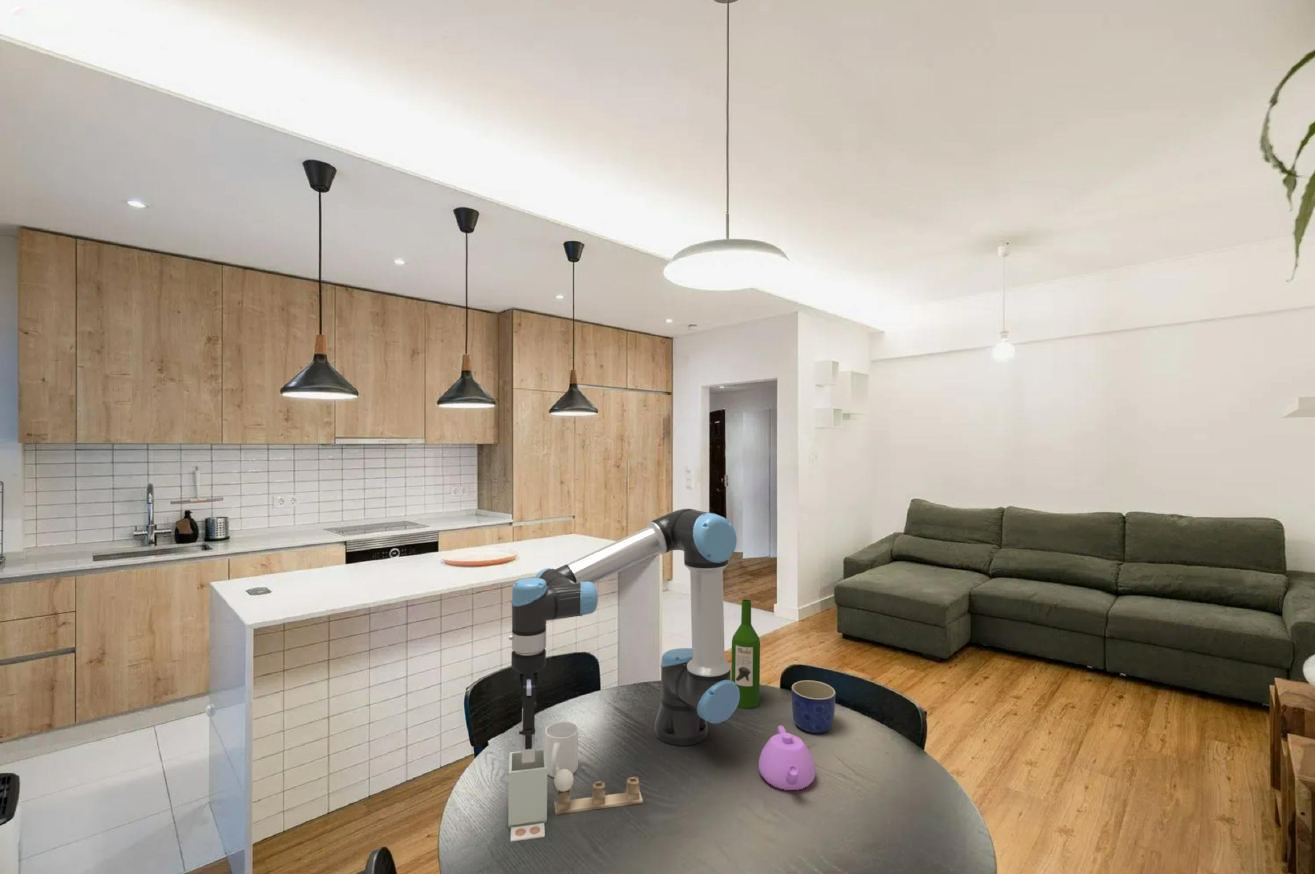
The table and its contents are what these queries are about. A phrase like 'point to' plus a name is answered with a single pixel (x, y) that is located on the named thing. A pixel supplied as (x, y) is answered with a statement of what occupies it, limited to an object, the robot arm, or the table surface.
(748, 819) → the table surface
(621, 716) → the table surface
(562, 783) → the ball
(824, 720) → the planter
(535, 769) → the grey-green tall hollow box
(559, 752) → the mug
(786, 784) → the teapot
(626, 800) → the rack
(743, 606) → the wine bottle
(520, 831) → the card
